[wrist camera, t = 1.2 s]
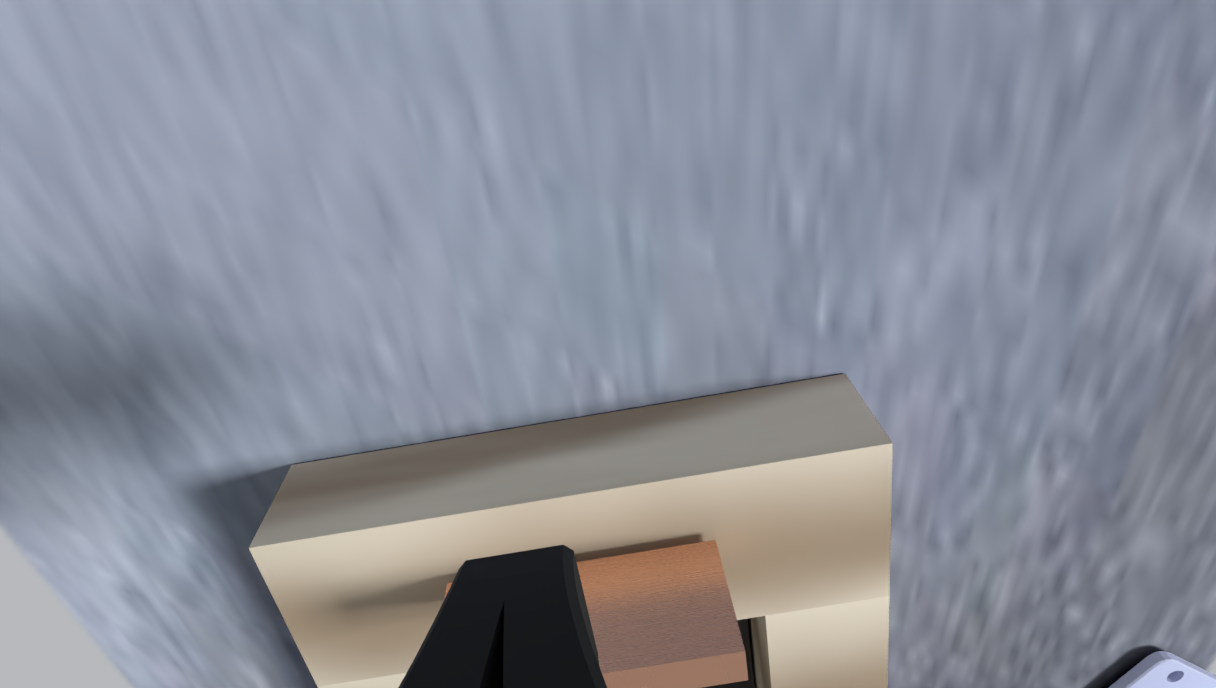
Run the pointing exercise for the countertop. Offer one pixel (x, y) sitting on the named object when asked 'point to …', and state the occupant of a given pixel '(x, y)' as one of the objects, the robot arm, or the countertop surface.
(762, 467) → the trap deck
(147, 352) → the countertop surface
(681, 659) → the slider
